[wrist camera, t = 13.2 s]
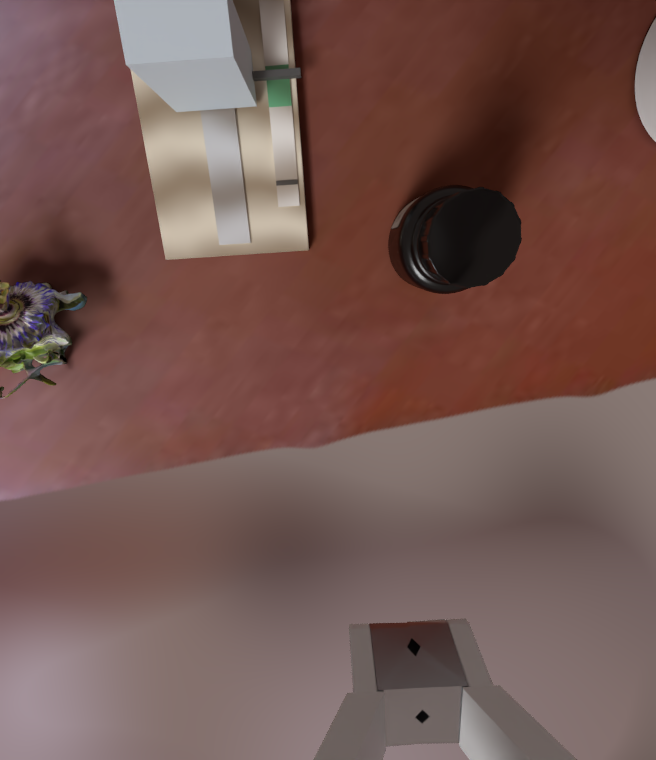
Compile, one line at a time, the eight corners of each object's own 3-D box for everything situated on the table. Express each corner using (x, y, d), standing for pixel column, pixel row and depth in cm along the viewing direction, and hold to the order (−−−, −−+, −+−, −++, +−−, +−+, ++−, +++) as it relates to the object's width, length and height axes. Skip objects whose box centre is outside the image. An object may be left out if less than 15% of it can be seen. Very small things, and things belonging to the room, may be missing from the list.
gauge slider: (302, 103, 34) (295, 52, 25) (176, 112, 34) (125, 64, 25) (297, 24, 32) (287, -59, 23) (164, 34, 32) (105, -45, 24)
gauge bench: (309, 250, 39) (304, 249, 30) (171, 259, 40) (126, 261, 31) (286, -59, 32) (270, -181, 23) (116, -46, 32) (35, -162, 23)
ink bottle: (481, 191, 38) (549, 164, 26) (477, 284, 41) (536, 296, 29) (381, 199, 38) (405, 176, 27) (384, 291, 41) (406, 306, 29)
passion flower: (79, 287, 46) (79, 262, 36) (102, 378, 47) (109, 378, 37) (-49, 298, 40) (-93, 271, 30) (-18, 401, 41) (-50, 409, 31)
